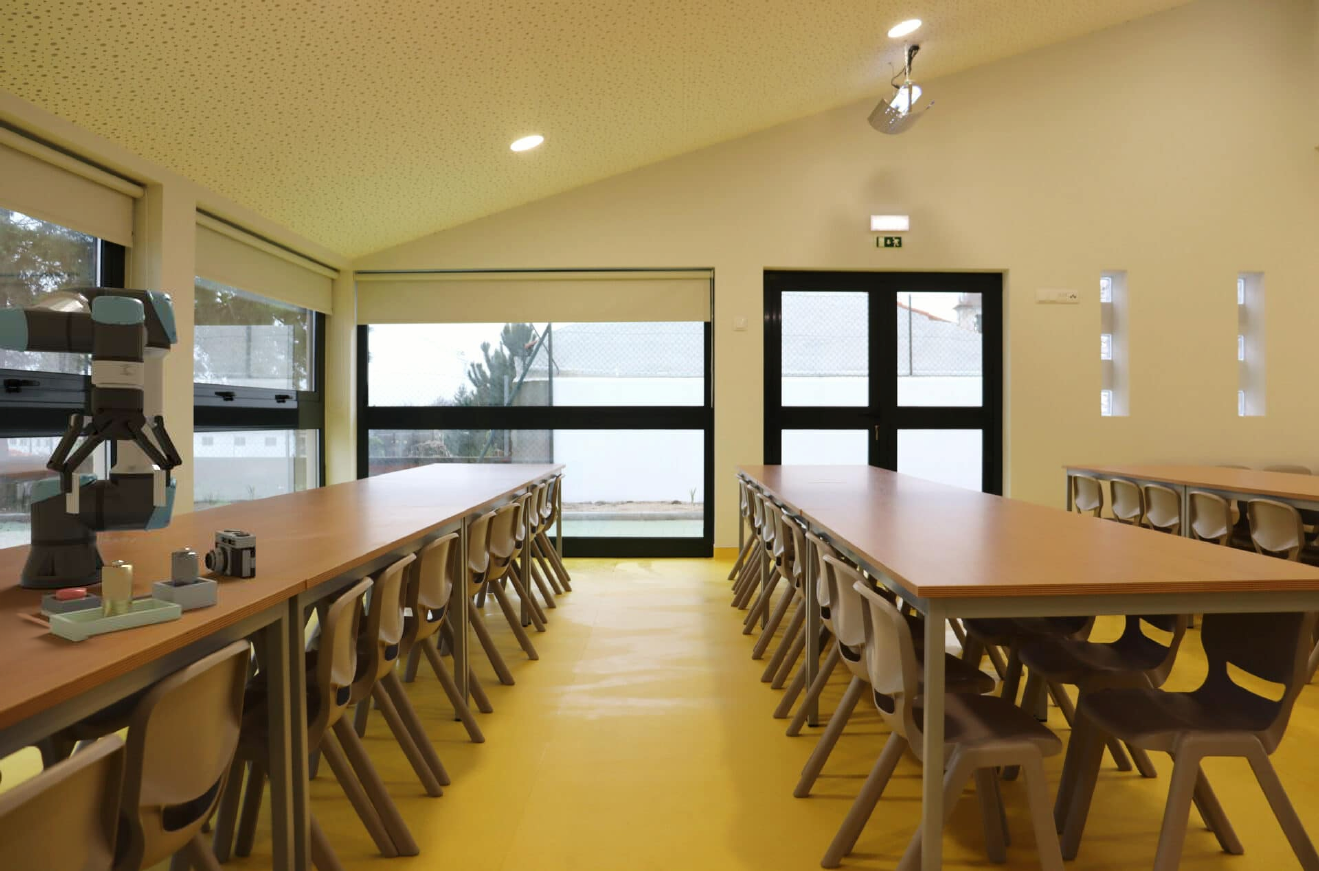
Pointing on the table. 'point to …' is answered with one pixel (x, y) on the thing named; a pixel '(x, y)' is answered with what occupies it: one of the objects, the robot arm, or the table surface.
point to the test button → (70, 593)
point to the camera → (233, 554)
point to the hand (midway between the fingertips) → (117, 509)
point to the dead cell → (184, 567)
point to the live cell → (117, 589)
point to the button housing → (68, 604)
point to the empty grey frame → (142, 596)
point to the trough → (112, 619)
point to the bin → (187, 593)
